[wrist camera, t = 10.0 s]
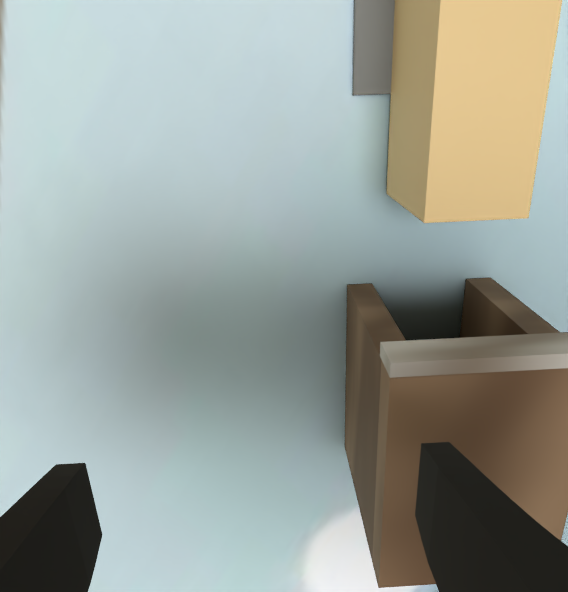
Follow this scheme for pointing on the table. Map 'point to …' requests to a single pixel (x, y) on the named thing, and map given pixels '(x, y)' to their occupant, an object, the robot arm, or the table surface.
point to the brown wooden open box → (453, 415)
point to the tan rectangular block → (468, 105)
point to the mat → (373, 46)
